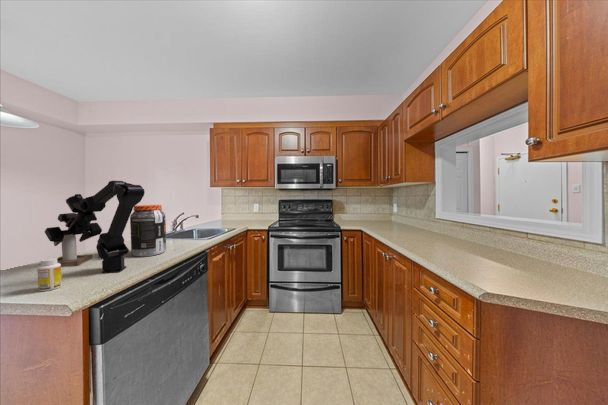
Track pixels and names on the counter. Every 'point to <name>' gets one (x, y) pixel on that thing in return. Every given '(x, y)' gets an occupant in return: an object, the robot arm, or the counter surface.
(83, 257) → the walnut tray
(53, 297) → the counter surface
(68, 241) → the beverage can
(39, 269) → the supplement bottle
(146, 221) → the supplement tub
